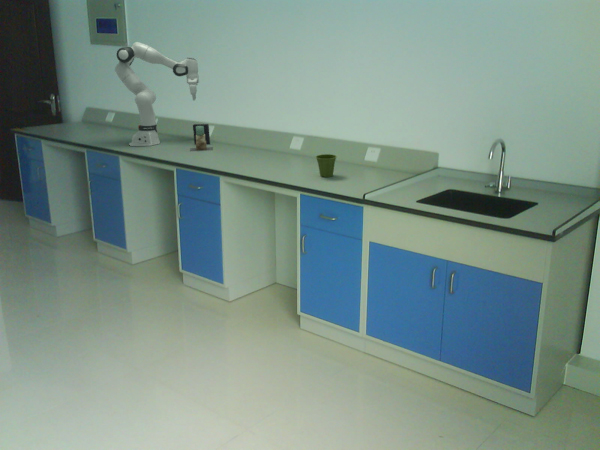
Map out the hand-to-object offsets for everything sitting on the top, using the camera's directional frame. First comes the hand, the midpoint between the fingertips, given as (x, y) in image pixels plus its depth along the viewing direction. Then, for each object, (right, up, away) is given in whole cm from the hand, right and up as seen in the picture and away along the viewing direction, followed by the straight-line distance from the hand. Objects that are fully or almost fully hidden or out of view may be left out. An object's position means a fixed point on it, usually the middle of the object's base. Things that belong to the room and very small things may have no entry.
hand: (194, 99), depth 448 cm
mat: (+9, -40, -24) cm, 48 cm away
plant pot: (+94, -66, -106) cm, 156 cm away
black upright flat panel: (+7, -34, -5) cm, 35 cm away
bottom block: (+9, -40, -24) cm, 47 cm away
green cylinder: (+9, -30, -27) cm, 42 cm away
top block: (+9, -35, -25) cm, 44 cm away
